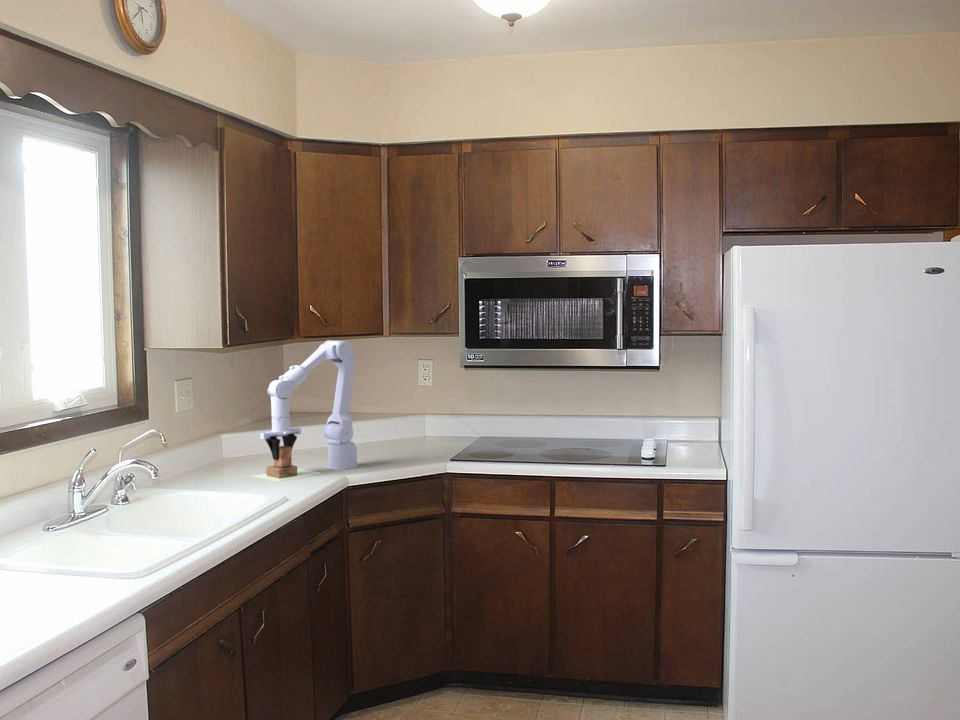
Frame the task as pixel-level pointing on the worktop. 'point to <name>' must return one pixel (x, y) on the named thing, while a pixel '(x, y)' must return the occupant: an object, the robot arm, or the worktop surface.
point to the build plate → (299, 474)
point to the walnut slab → (281, 471)
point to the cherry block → (284, 457)
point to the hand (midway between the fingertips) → (281, 458)
